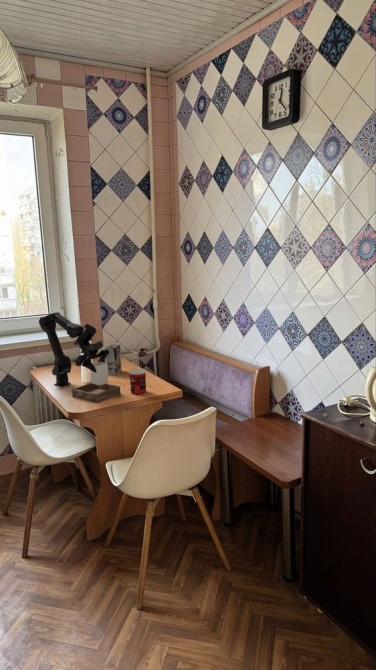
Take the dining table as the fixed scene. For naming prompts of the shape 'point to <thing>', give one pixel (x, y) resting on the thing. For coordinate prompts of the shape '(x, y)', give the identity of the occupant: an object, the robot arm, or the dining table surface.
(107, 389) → the walnut crate
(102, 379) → the light grey block
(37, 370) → the dining table surface
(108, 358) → the coffee box
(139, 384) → the canned food
